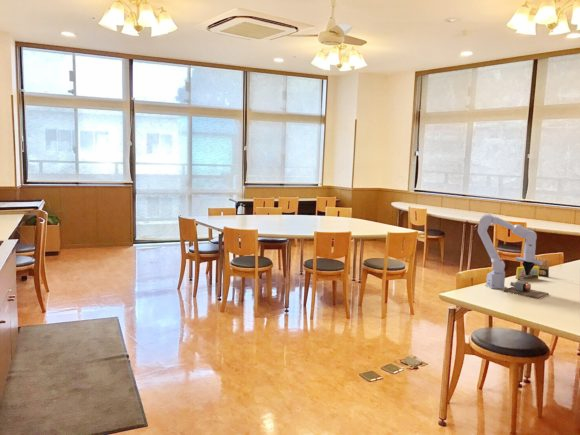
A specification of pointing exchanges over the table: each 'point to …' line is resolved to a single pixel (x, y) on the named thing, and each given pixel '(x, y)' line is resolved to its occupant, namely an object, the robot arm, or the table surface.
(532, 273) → the candy box
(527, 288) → the shaft
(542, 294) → the base plate
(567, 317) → the table surface
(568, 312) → the table surface
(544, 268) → the ammunition clip
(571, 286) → the table surface
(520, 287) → the bearing housing
